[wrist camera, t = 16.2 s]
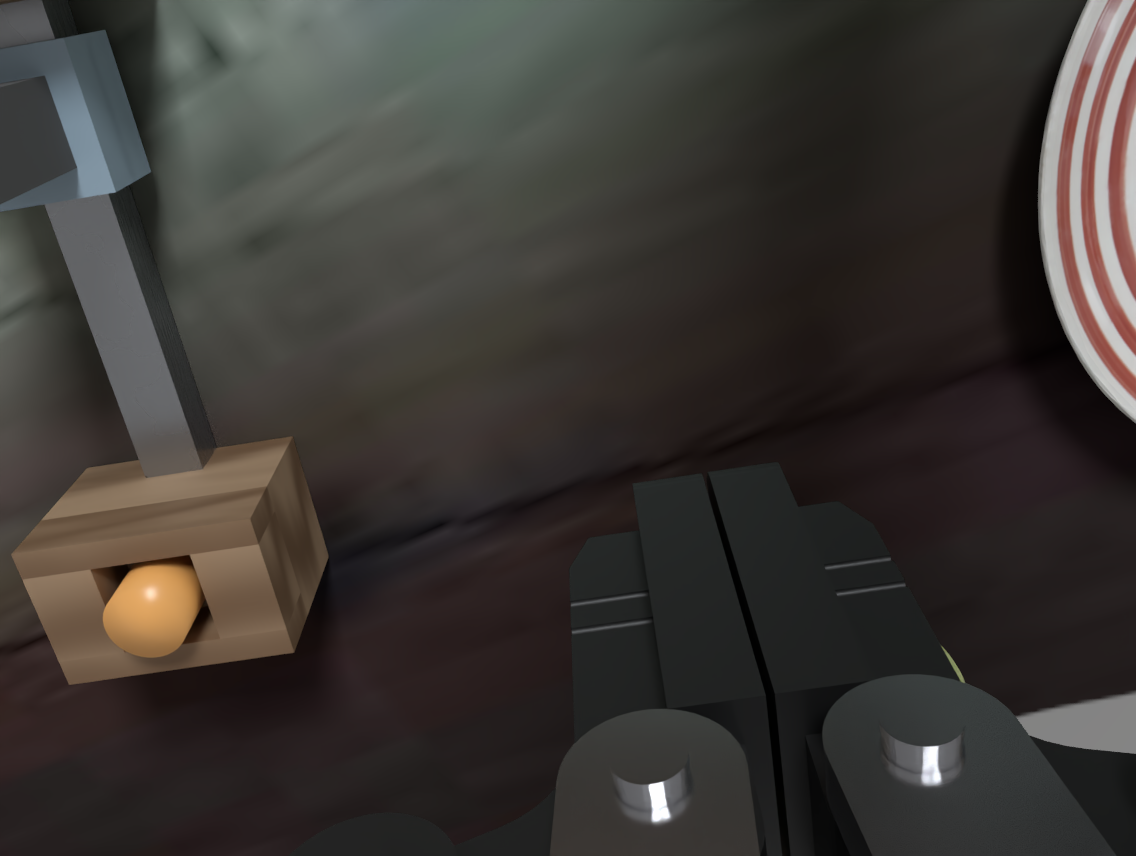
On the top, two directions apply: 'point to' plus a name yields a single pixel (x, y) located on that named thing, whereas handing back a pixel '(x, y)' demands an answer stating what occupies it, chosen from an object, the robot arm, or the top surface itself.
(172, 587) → the button
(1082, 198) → the dinner plate
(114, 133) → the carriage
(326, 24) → the top surface
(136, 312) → the stand
